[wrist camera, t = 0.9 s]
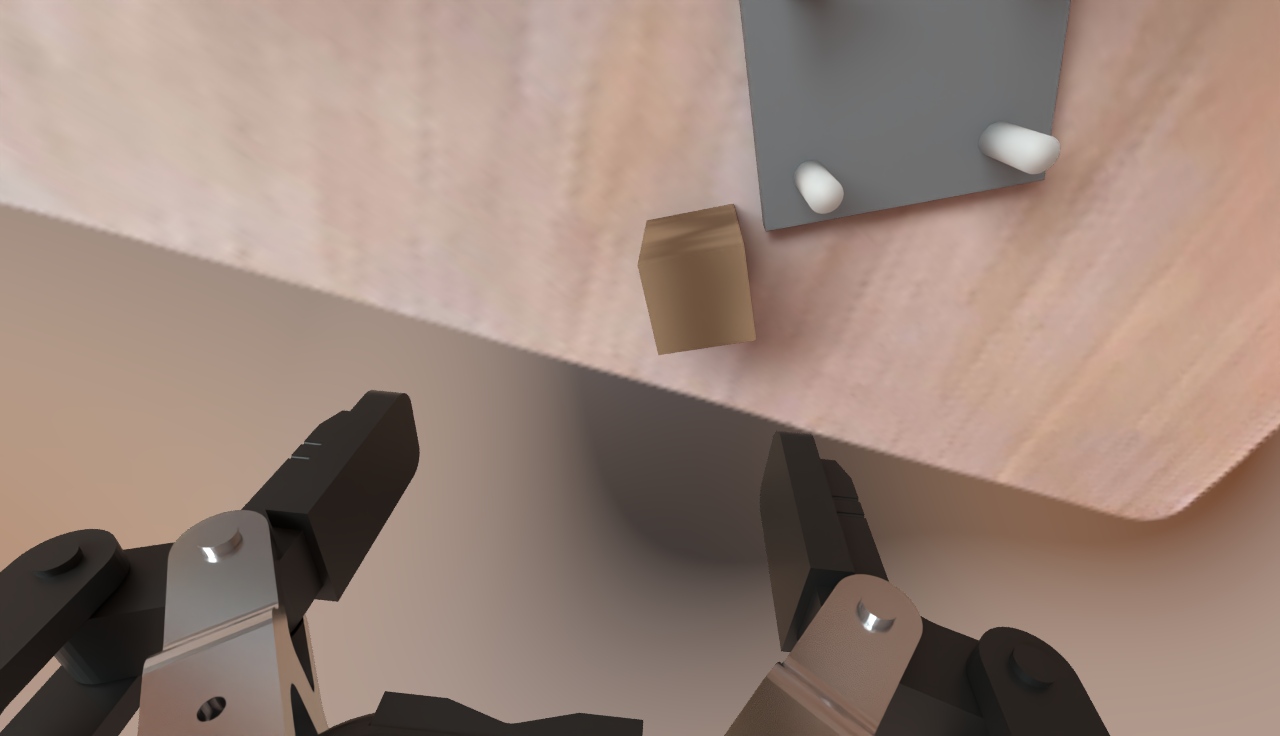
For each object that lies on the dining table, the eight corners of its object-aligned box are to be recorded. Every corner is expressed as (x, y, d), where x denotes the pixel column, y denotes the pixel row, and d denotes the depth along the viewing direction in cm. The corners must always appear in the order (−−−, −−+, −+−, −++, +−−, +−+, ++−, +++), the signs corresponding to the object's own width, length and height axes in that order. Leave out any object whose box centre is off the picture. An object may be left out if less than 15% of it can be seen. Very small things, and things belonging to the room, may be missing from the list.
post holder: (1080, -179, 22) (1176, -229, 18) (1031, 174, 29) (1092, 200, 25) (730, -80, 25) (740, -103, 20) (763, 224, 32) (775, 257, 27)
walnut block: (733, 203, 31) (744, 245, 25) (744, 284, 34) (756, 340, 28) (646, 220, 32) (637, 264, 26) (663, 298, 35) (658, 355, 29)
